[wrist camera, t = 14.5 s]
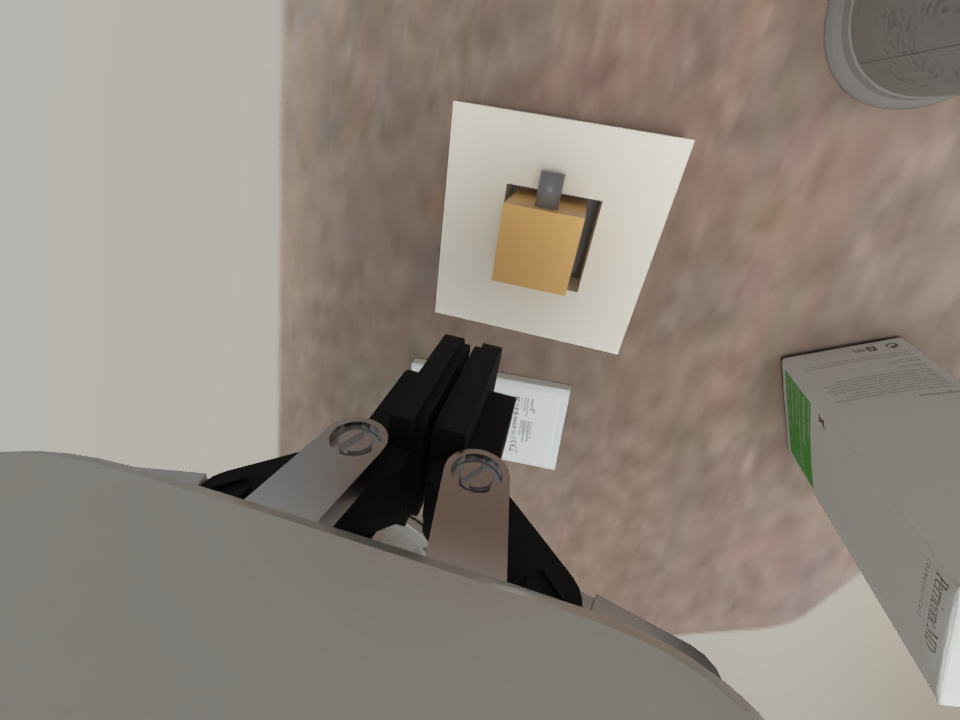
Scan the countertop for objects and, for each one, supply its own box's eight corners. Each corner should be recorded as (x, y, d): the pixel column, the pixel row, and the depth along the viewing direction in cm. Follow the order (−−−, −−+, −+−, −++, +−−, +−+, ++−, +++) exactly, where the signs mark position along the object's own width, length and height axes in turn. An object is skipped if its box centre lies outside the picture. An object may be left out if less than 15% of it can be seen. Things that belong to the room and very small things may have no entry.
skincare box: (779, 354, 27) (952, 580, 14) (912, 331, 25) (1273, 578, 11) (786, 454, 30) (931, 712, 17) (904, 442, 28) (1177, 732, 15)
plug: (570, 264, 27) (564, 296, 22) (509, 252, 27) (491, 280, 23) (595, 169, 24) (594, 183, 19) (525, 157, 24) (509, 167, 20)
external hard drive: (417, 354, 34) (571, 381, 32) (419, 431, 38) (555, 460, 36) (410, 363, 33) (570, 392, 31) (412, 443, 37) (554, 473, 35)
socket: (615, 333, 29) (617, 354, 26) (448, 295, 30) (435, 311, 28) (684, 137, 22) (695, 140, 20) (468, 102, 24) (453, 100, 22)
